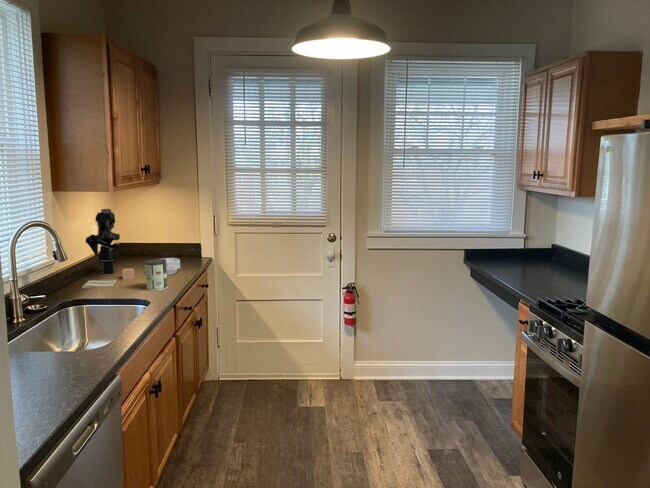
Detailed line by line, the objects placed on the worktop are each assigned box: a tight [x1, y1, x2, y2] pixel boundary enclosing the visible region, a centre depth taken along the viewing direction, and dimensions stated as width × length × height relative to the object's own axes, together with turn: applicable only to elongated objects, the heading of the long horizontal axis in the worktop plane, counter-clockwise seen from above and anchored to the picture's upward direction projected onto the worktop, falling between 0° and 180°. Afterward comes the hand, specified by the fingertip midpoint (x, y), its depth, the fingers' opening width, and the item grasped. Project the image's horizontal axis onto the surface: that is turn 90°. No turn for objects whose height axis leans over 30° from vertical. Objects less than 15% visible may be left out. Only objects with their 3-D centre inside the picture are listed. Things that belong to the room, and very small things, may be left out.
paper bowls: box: [162, 257, 181, 276], centre depth 294 cm, size 15×15×8 cm
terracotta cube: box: [122, 268, 135, 281], centre depth 282 cm, size 5×5×5 cm
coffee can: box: [144, 258, 168, 292], centre depth 260 cm, size 10×10×14 cm
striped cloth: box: [81, 278, 118, 289], centre depth 269 cm, size 14×14×1 cm
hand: (103, 257), depth 273 cm, fingers open, 9 cm apart
